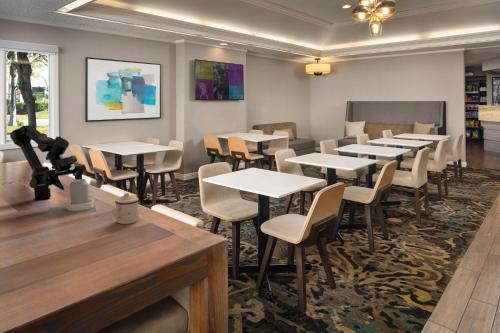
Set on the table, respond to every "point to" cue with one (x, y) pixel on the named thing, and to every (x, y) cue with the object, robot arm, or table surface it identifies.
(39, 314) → the table surface
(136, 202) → the teacup with lid
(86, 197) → the can
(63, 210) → the placemat
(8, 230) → the table surface
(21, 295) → the table surface
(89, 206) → the bowl
